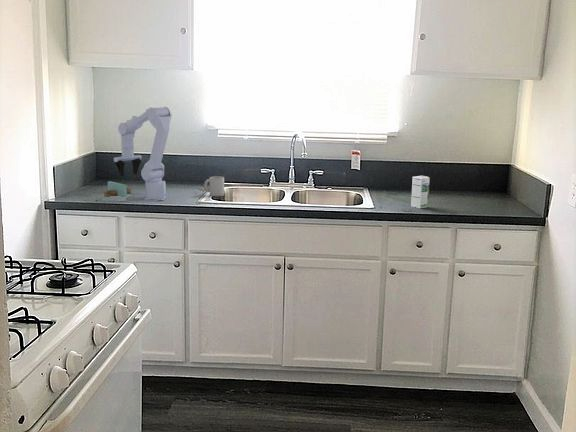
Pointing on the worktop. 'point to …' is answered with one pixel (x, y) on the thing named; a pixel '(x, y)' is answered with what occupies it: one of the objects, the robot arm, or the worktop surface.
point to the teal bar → (118, 188)
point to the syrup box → (420, 191)
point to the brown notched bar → (114, 192)
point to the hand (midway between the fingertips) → (128, 175)
